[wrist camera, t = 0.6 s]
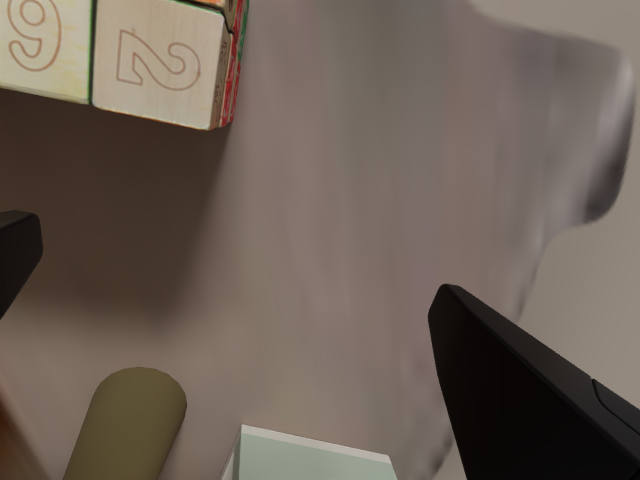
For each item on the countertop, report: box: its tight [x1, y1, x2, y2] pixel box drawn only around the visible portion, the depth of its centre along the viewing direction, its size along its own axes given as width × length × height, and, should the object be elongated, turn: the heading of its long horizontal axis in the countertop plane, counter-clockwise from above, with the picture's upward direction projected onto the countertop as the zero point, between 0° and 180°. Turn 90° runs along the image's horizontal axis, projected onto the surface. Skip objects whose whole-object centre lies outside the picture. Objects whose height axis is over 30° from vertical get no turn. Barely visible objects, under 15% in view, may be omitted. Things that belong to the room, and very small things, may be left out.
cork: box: [63, 367, 187, 480], centre depth 22 cm, size 6×6×11 cm
